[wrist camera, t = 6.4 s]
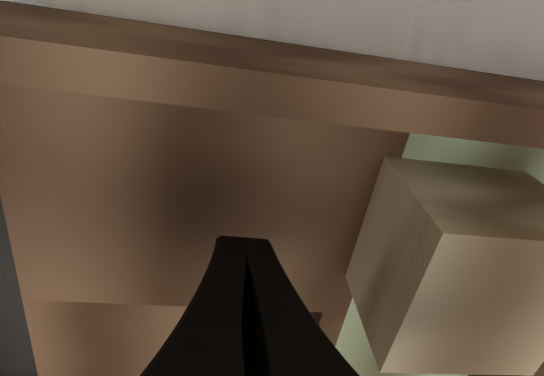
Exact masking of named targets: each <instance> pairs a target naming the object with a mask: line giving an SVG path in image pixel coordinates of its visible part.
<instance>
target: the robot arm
mask: <svg viewBox="0 0 544 376" xmlns="http://www.w3.org/2000/svg"><path fill="white" fill-rule="evenodd" d="M140 376H360V375H359V374H358V373H357V372H356V371H355V370H354V369H353V367H352V366H351V365H350V364H349V363H348V362H347V361H346V359H345V358H344V357H343V356H342V355H341V353H340V352H339V351H338V350H337V348H336V347H335V346H334V345H333V343H332V342H331V341H330V340H329V338H328V337H327V336H326V334H325V333H324V332H323V330H322V329H321V328H320V326H319V325H318V323H317V322H316V320H315V319H314V318H313V316H312V315H311V313H310V312H309V310H308V309H307V307H306V306H305V304H304V303H303V301H302V300H301V298H300V296H299V295H298V293H297V291H296V290H295V288H294V287H293V285H292V283H291V282H290V280H289V278H288V276H287V275H286V273H285V271H284V269H283V267H282V265H281V264H280V262H279V260H278V258H277V256H276V254H275V251H274V249H273V247H272V245H271V243H270V242H269V240H268V239H260V238H247V237H234V236H219V237H218V238H216V242H215V247H214V251H213V254H212V257H211V260H210V263H209V265H208V267H207V270H206V272H205V274H204V276H203V278H202V280H201V282H200V284H199V287H198V289H197V291H196V292H195V294H194V296H193V298H192V300H191V301H190V303H189V305H188V306H187V308H186V310H185V312H184V313H183V315H182V317H181V318H180V320H179V322H178V323H177V325H176V326H175V328H174V329H173V331H172V332H171V334H170V335H169V337H168V338H167V340H166V341H165V343H164V344H163V345H162V347H161V348H160V350H159V351H158V352H157V354H156V355H155V357H154V358H153V359H152V360H151V362H150V363H149V364H148V366H147V367H146V368H145V369H144V371H143V372H142V373H141V375H140Z"/></svg>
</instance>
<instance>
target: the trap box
mask: <svg viewBox="0 0 544 376" xmlns="http://www.w3.org/2000/svg"><path fill="white" fill-rule="evenodd" d="M384 156H389V157H398V158H407V159H416V160H425V161H435V162H444V163H453V164H462V165H471V166H481V167H490V168H499V169H508V170H518V171H526V172H528V173H529V174H530V175H532V176H533V177H534V178H536V179H537V180H538V181H540V182H541V183H542V184H544V82H543V81H537V80H530V79H523V78H517V77H510V76H503V75H496V74H490V73H483V72H476V71H470V70H463V69H456V68H450V67H443V66H436V65H429V64H423V63H416V62H409V61H403V60H396V59H389V58H383V57H376V56H369V55H362V54H356V53H349V52H342V51H336V50H329V49H322V48H315V47H309V46H302V45H295V44H289V43H282V42H275V41H269V40H262V39H255V38H248V37H242V36H235V35H228V34H222V33H215V32H208V31H202V30H195V29H188V28H181V27H175V26H168V25H161V24H155V23H148V22H141V21H135V20H128V19H121V18H114V17H108V16H101V15H94V14H88V13H81V12H74V11H68V10H61V9H54V8H47V7H41V6H34V5H27V4H21V3H14V2H7V1H1V0H0V376H140V375H141V373H142V372H143V371H144V369H145V368H146V367H147V366H148V364H149V363H150V362H151V360H152V359H153V358H154V357H155V355H156V354H157V352H158V351H159V350H160V348H161V347H162V345H163V344H164V343H165V341H166V340H167V338H168V337H169V335H170V334H171V332H172V331H173V329H174V328H175V326H176V325H177V323H178V322H179V320H180V318H181V317H182V315H183V313H184V312H185V310H186V308H187V306H188V305H189V303H190V301H191V300H192V298H193V296H194V294H195V292H196V291H197V289H198V287H199V284H200V282H201V280H202V278H203V276H204V274H205V272H206V270H207V267H208V265H209V263H210V260H211V257H212V254H213V251H214V247H215V242H216V238H218V237H219V236H234V237H247V238H260V239H268V240H269V242H270V243H271V245H272V247H273V249H274V251H275V254H276V256H277V258H278V260H279V262H280V264H281V265H282V267H283V269H284V271H285V273H286V275H287V276H288V278H289V280H290V282H291V283H292V285H293V287H294V288H295V290H296V291H297V293H298V295H299V296H300V298H301V300H302V301H303V303H304V304H305V306H306V307H307V309H308V310H309V312H310V313H311V315H312V316H313V318H314V319H315V320H316V322H317V323H318V325H319V326H320V328H321V329H322V330H323V332H324V333H325V334H326V336H327V337H328V338H329V340H330V341H331V342H332V343H333V345H334V346H335V347H336V348H337V350H338V351H339V352H340V353H341V355H342V356H343V357H344V358H345V359H346V361H347V362H348V363H349V364H350V365H351V366H352V367H353V369H354V370H355V371H356V372H357V373H358V374H359V375H360V376H525V375H470V374H416V373H380V372H379V370H378V367H377V364H376V361H375V358H374V356H373V353H372V350H371V347H370V344H369V342H368V339H367V336H366V333H365V330H364V327H363V325H362V322H361V319H360V316H359V313H358V311H357V308H356V305H355V302H354V299H353V297H352V294H351V291H350V288H349V285H348V282H347V280H346V277H345V275H346V272H347V269H348V266H349V263H350V260H351V257H352V254H353V251H354V248H355V245H356V242H357V239H358V236H359V233H360V230H361V227H362V223H363V220H364V217H365V214H366V211H367V208H368V205H369V202H370V199H371V196H372V193H373V190H374V187H375V184H376V181H377V178H378V175H379V172H380V168H381V165H382V162H383V159H384ZM533 376H544V362H543V363H542V364H541V366H540V367H539V368H538V370H537V371H536V372H535V374H534V375H533Z"/></svg>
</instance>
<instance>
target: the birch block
mask: <svg viewBox="0 0 544 376" xmlns="http://www.w3.org/2000/svg"><path fill="white" fill-rule="evenodd" d="M345 277H346V280H347V282H348V285H349V288H350V291H351V294H352V297H353V299H354V302H355V305H356V308H357V311H358V313H359V316H360V319H361V322H362V325H363V327H364V330H365V333H366V336H367V339H368V342H369V344H370V347H371V350H372V353H373V356H374V358H375V361H376V364H377V367H378V370H379V372H380V373H416V374H470V375H525V376H533V375H534V374H535V372H536V371H537V370H538V368H539V367H540V366H541V364H542V363H543V362H544V184H542V183H541V182H540V181H538V180H537V179H536V178H534V177H533V176H532V175H530V174H529V173H528V172H526V171H518V170H508V169H499V168H490V167H481V166H471V165H462V164H453V163H444V162H435V161H425V160H416V159H407V158H398V157H389V156H384V159H383V162H382V165H381V168H380V172H379V175H378V178H377V181H376V184H375V187H374V190H373V193H372V196H371V199H370V202H369V205H368V208H367V211H366V214H365V217H364V220H363V223H362V227H361V230H360V233H359V236H358V239H357V242H356V245H355V248H354V251H353V254H352V257H351V260H350V263H349V266H348V269H347V272H346V275H345Z"/></svg>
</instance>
